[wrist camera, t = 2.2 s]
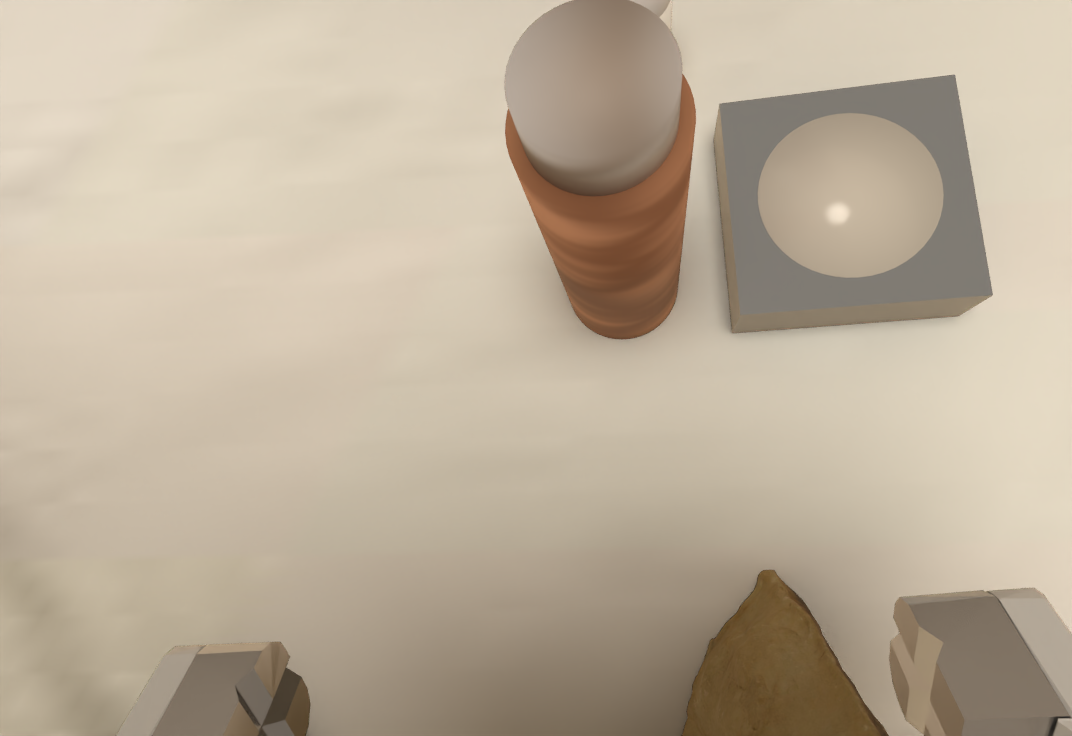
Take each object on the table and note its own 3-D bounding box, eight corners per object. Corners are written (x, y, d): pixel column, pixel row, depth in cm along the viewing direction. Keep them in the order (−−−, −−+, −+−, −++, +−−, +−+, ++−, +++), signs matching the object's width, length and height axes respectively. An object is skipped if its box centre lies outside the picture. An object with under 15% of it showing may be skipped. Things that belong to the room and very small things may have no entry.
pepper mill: (571, 343, 31) (490, 186, 16) (566, 240, 32) (484, -3, 17) (682, 334, 31) (710, 161, 15) (673, 230, 31) (691, -35, 16)
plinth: (731, 333, 30) (740, 314, 27) (713, 140, 32) (719, 102, 29) (958, 316, 29) (993, 294, 26) (926, 115, 31) (955, 73, 28)
